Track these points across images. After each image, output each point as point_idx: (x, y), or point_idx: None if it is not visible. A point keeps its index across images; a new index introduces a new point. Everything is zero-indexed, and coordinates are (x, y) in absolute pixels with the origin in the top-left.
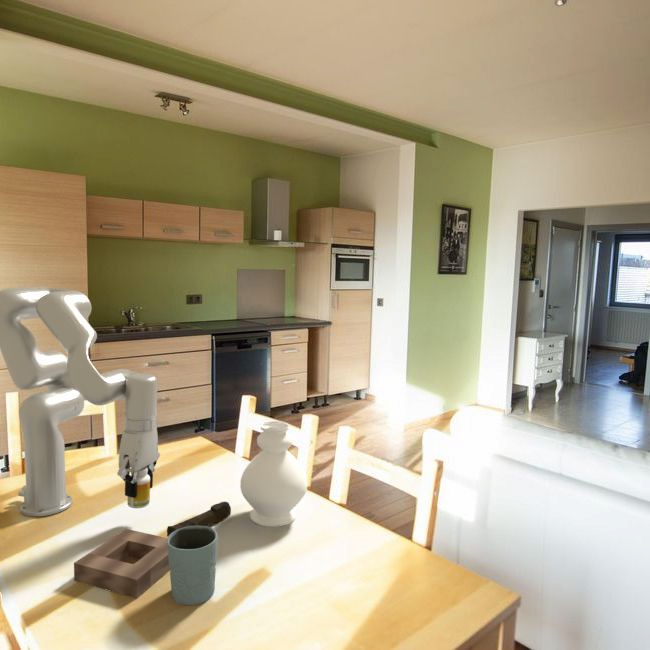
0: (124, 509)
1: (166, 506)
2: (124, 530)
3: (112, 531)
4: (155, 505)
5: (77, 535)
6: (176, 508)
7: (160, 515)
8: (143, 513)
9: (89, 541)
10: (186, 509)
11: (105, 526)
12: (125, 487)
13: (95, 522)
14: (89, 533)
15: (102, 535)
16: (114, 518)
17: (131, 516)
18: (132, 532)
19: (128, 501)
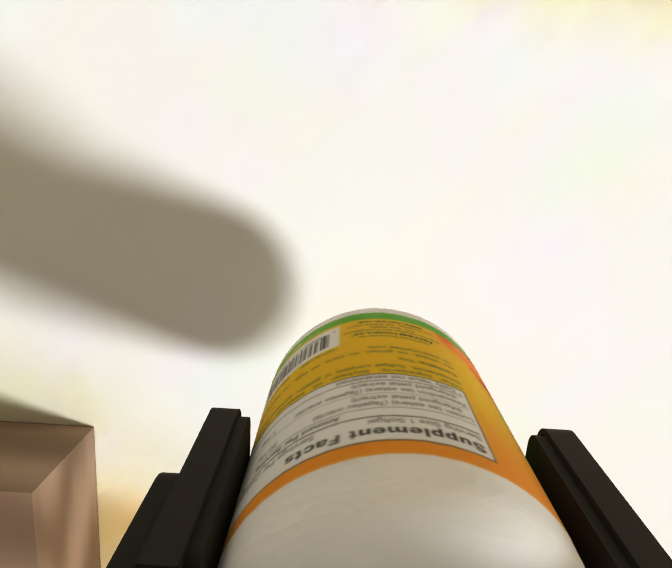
0: (536, 92)
1: (660, 374)
2: (4, 500)
3: (197, 238)
4: (660, 289)
5: (45, 27)
6: (644, 455)
7: (513, 410)
8: (510, 281)
9: (21, 179)
10: (643, 522)
11: (239, 139)
12: (180, 477)
13: (264, 13)
14: (107, 96)
15: (123, 209)
16: (372, 119)
17: (441, 225)
18: (9, 565)
19: (275, 378)
